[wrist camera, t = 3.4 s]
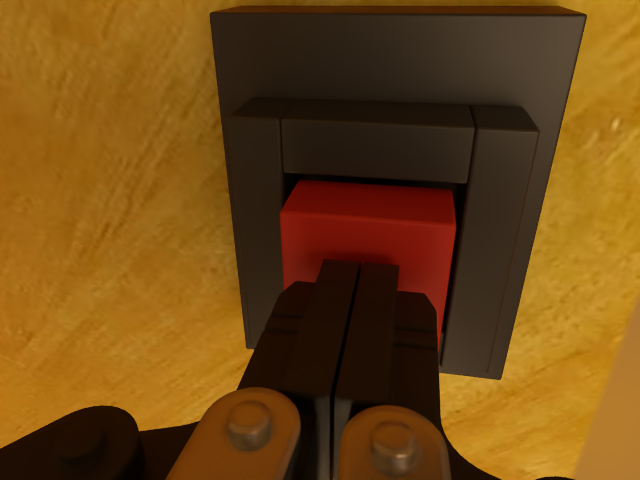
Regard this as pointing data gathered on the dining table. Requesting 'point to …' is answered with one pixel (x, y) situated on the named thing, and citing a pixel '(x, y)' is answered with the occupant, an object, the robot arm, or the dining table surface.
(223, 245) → the dining table surface
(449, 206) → the red button cap
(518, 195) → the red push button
